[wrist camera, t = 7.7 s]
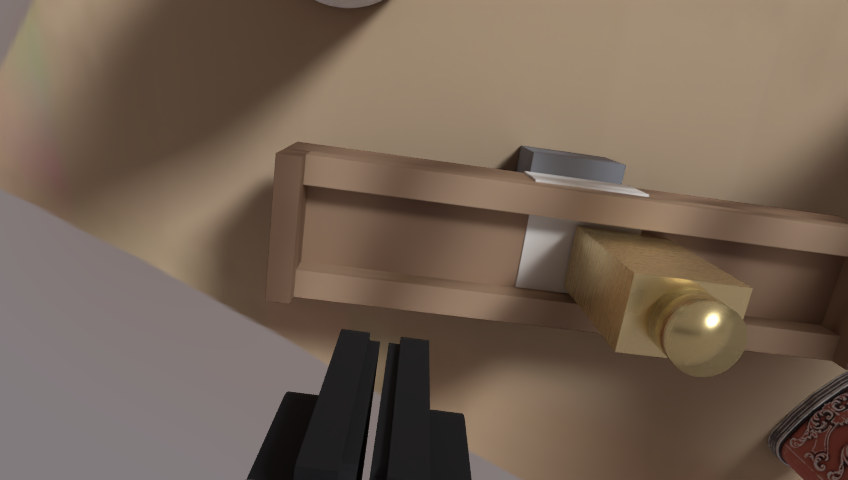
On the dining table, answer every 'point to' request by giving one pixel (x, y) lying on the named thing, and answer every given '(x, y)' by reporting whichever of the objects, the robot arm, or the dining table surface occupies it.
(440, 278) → the beam
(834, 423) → the lighter
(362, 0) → the milk bottle
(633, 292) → the rider
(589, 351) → the dining table surface
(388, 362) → the robot arm
